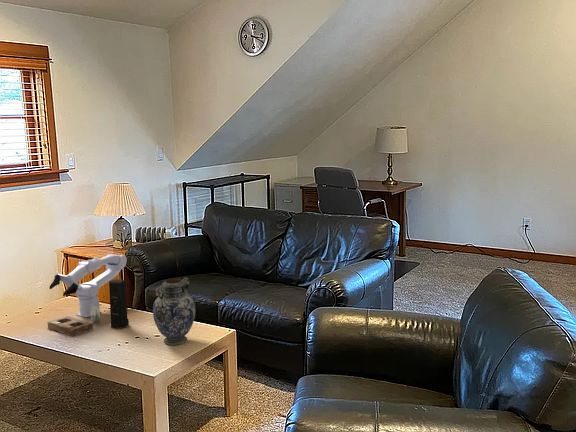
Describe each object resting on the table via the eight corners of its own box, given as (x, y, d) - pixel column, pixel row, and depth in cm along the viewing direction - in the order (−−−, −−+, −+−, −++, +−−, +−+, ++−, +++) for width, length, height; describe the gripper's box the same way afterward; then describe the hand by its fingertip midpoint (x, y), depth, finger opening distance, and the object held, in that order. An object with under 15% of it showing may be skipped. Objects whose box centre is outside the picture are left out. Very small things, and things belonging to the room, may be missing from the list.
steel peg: (96, 321, 283) (95, 305, 282) (101, 322, 281) (100, 306, 280) (89, 323, 280) (88, 307, 279) (94, 324, 278) (93, 308, 277)
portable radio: (108, 327, 274) (105, 276, 270) (116, 323, 279) (113, 273, 276) (121, 329, 271) (118, 278, 267) (129, 325, 276) (126, 275, 273)
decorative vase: (174, 330, 268) (172, 272, 263) (206, 336, 259) (204, 277, 255) (142, 345, 249) (140, 283, 245) (176, 353, 241) (174, 289, 236)
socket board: (68, 321, 283) (67, 315, 282) (93, 329, 271) (92, 322, 271) (47, 328, 274) (47, 321, 274) (72, 336, 263) (72, 329, 262)
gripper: (63, 264, 283) (45, 278, 271) (88, 277, 281) (70, 291, 270) (61, 274, 287) (43, 288, 275) (86, 287, 285) (69, 302, 273)
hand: (56, 291), depth 273 cm, fingers open, 7 cm apart
